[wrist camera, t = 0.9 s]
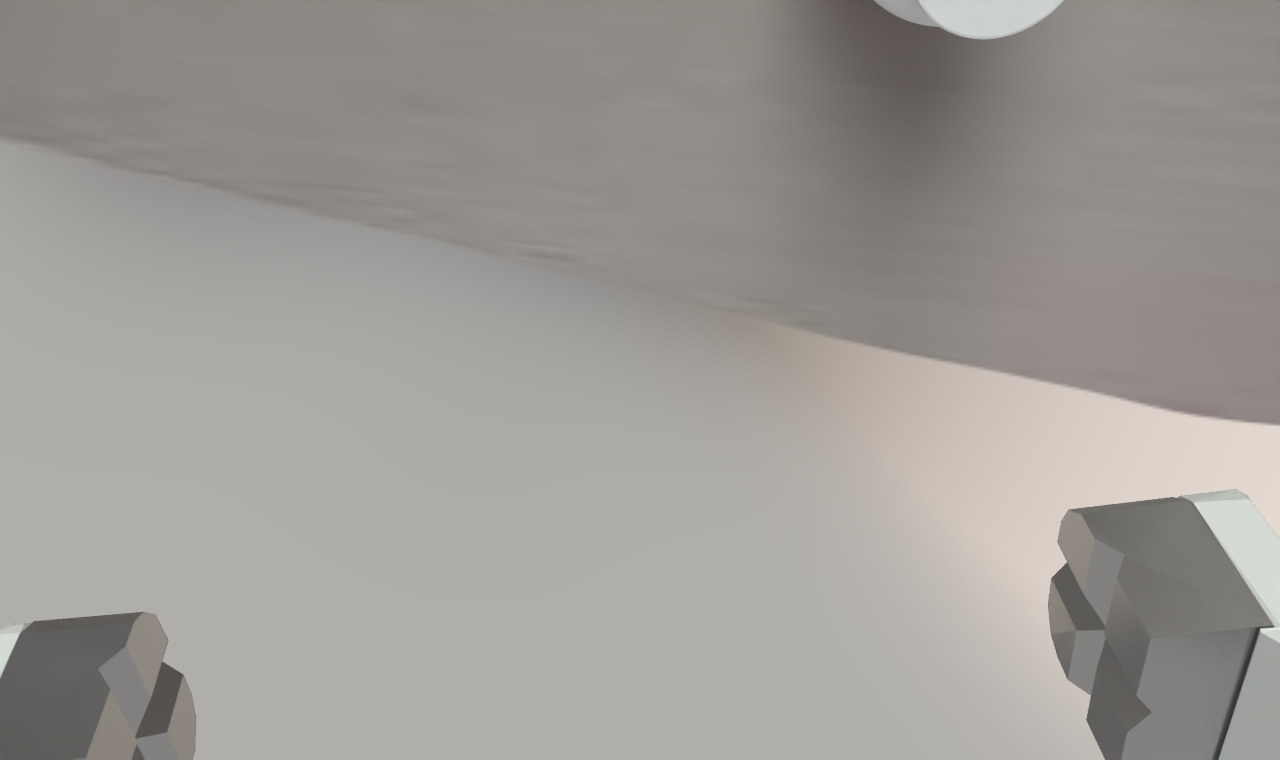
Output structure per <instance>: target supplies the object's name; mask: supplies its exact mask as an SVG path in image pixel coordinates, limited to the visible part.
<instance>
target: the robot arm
mask: <svg viewBox="0 0 1280 760" xmlns="http://www.w3.org/2000/svg"><path fill="white" fill-rule="evenodd" d="M1058 544H1059V546H1060V548H1061V550H1062V552H1063V554H1064V556H1065V558H1066V560H1067V563H1066V564H1065V565H1064V566H1063V567H1062V568H1061V569H1060V570H1059V571H1058V572H1057V573H1056V574H1055V575H1054V576H1053V577H1052V578H1051V585H1050V593H1049V601H1048V609H1049V619H1050V629H1051V636H1052V639H1053V642H1054V646H1055V649H1056V653H1057V656H1058V659H1059V661H1060V663H1061V666H1062V668H1063V670H1064V672H1065V674H1066V677H1067V679H1068V680H1069V681H1070V682H1072V683H1073V684H1075V685H1076V686H1078V687H1079V688H1081V689H1082V690H1084V691H1085V692H1087V693H1088V694H1090V695H1091V700H1090V704H1089V709H1088V714H1087V719H1086V720H1087V722H1088V724H1089V726H1090V729H1091V731H1092V733H1093V735H1094V737H1095V739H1096V741H1097V743H1098V745H1099V747H1100V750H1101V752H1102V754H1103V756H1104V758H1105V760H1280V539H1279V537H1278V536H1277V535H1276V533H1275V532H1274V531H1273V529H1272V528H1271V527H1270V525H1269V524H1268V522H1266V520H1265V518H1264V517H1263V516H1262V515H1261V513H1260V512H1259V510H1258V509H1257V508H1256V506H1255V505H1254V504H1253V502H1252V501H1251V500H1250V498H1249V497H1248V496H1247V495H1245V494H1243V493H1242V492H1240V491H1238V490H1236V489H1233V490H1225V491H1217V492H1209V493H1201V494H1193V495H1184V496H1180V497H1178V498H1174V497H1170V498H1162V499H1153V500H1145V501H1137V502H1129V503H1121V504H1112V505H1104V506H1095V507H1086V508H1078V509H1070V510H1068V511H1067V513H1066V515H1065V516H1064V518H1063V520H1062V521H1061V526H1060V532H1059V537H1058ZM167 644H168V639H167V637H166V635H165V633H164V631H163V629H162V627H161V624H160V623H159V620H158V618H157V617H156V615H154V614H150V613H145V612H138V613H126V614H114V615H104V616H103V615H102V616H92V617H80V618H68V619H56V620H45V621H34V622H32V623H25V624H12V625H0V760H193V757H194V753H195V739H196V738H195V736H196V714H195V709H194V704H193V699H192V694H191V691H190V689H189V687H188V684H187V682H186V680H185V677H184V675H183V674H182V673H180V672H178V671H177V670H175V669H173V668H172V667H170V666H169V665H167V664H165V663H164V662H162V660H163V657H164V653H165V650H166V647H167Z"/></svg>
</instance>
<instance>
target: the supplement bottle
mask: <svg viewBox="0 0 1280 760" xmlns="http://www.w3.org/2000/svg"><path fill="white" fill-rule="evenodd" d="M874 1H875V2H876V3H877V4H879V5H880V6H881V7H883V8H884V9H885V10H887V11H889V12H890V13H892V14H893V15H895V16H897V17H900V18H902V19H904V20H907V21H909V22H913V23H916V24H920V25H925V26H934V27H941V28H942V29H944V30H946V31H948V32H950V33H952V34H955V35H957V36H961V37H965V38H970V39H996V38H1002V37H1006V36H1009V35H1013V34H1016V33H1018V32H1021V31H1023V30H1026V29H1028V28H1030V27H1031V26H1033V25H1035V24H1036V23H1038V22H1040V21H1041V20H1043V19H1044V18H1045V17H1047V16H1048V15H1049V14H1050V13H1052V12H1053V11H1054V10H1055V9H1056V8H1057V7H1058V6H1059V5H1060V4H1061V3H1062V2H1063V1H1064V0H874Z"/></svg>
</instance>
